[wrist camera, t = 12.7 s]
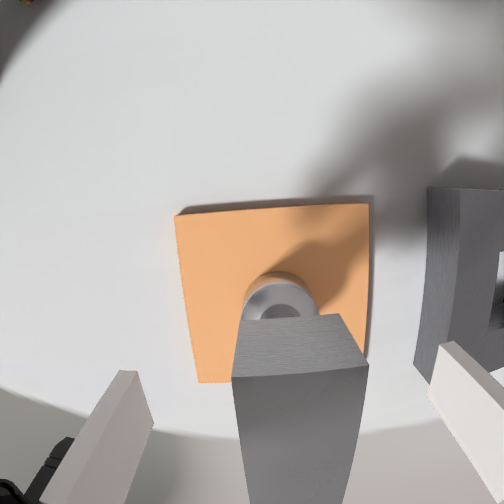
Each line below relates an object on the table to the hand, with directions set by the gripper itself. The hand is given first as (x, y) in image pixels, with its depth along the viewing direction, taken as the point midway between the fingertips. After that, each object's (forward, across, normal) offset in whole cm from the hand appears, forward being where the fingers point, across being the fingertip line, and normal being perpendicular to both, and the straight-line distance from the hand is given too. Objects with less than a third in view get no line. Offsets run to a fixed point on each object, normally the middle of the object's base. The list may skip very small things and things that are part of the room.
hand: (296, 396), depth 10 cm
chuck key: (+9, 0, 0) cm, 9 cm away
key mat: (+10, 0, 0) cm, 10 cm away
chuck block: (+10, +18, 0) cm, 21 cm away
